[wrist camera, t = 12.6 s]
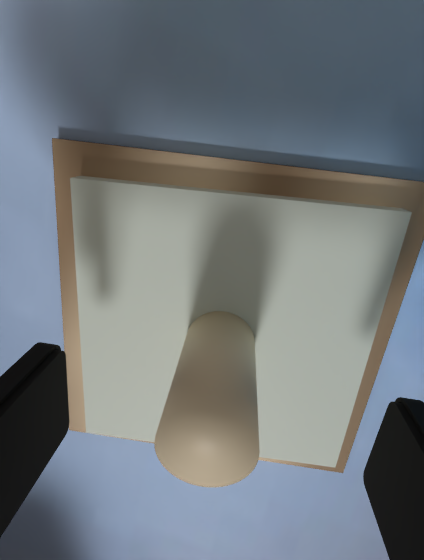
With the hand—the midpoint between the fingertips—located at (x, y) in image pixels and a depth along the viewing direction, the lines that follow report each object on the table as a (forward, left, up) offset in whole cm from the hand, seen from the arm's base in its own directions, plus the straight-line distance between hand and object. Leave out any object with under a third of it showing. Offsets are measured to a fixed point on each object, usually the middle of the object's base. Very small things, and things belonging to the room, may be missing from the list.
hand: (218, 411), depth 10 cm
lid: (0, 0, -4) cm, 4 cm away
